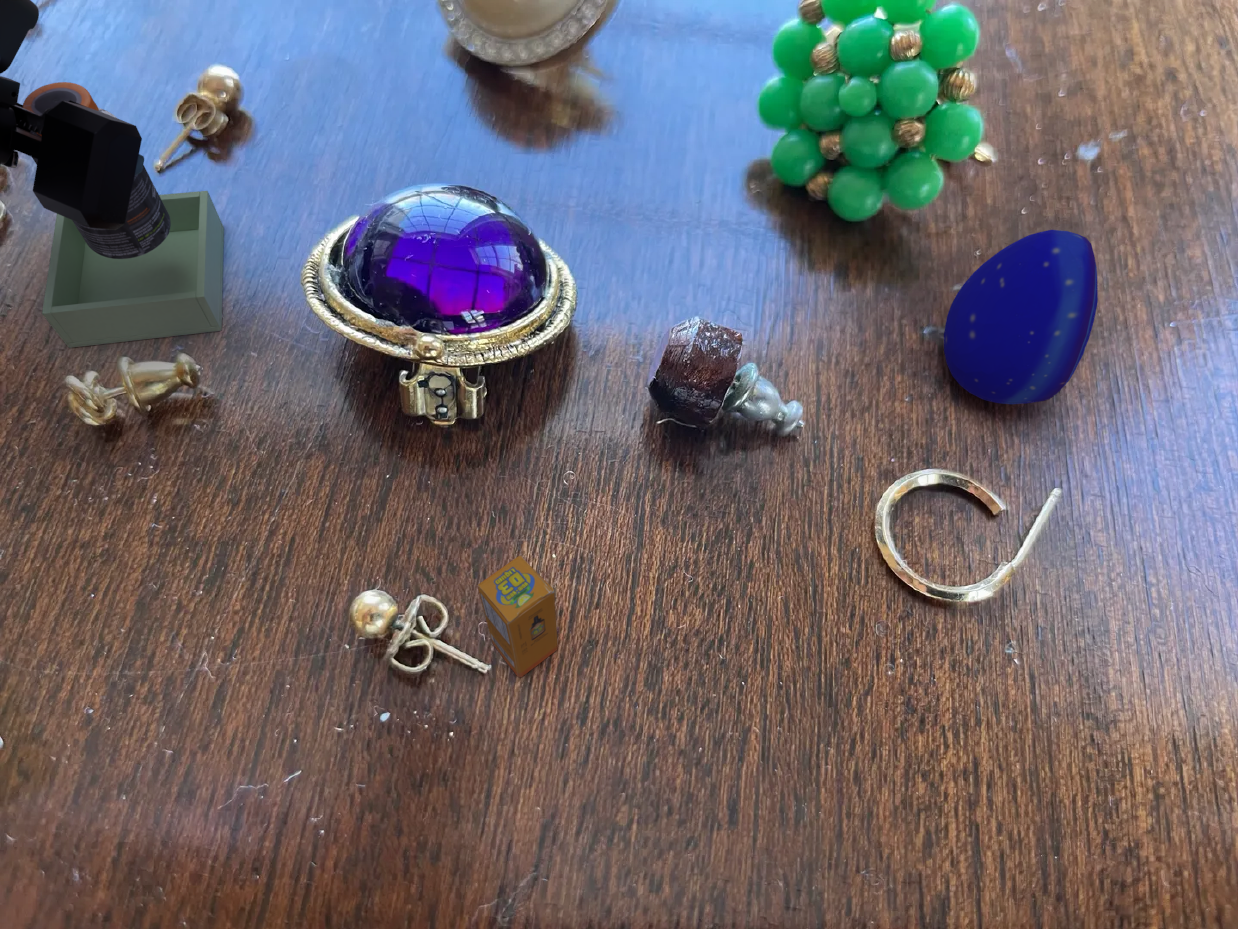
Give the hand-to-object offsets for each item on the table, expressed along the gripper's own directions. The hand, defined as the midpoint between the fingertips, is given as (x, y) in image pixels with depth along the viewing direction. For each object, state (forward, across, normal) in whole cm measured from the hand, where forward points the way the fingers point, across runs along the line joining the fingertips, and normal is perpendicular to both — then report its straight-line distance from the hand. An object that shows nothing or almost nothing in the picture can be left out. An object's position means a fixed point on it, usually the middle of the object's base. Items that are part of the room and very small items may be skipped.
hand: (103, 148), depth 60 cm
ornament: (+25, -62, -6) cm, 67 cm away
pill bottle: (+4, 0, +6) cm, 7 cm away
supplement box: (-1, -39, +20) cm, 44 cm away
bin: (+8, +2, +10) cm, 13 cm away
